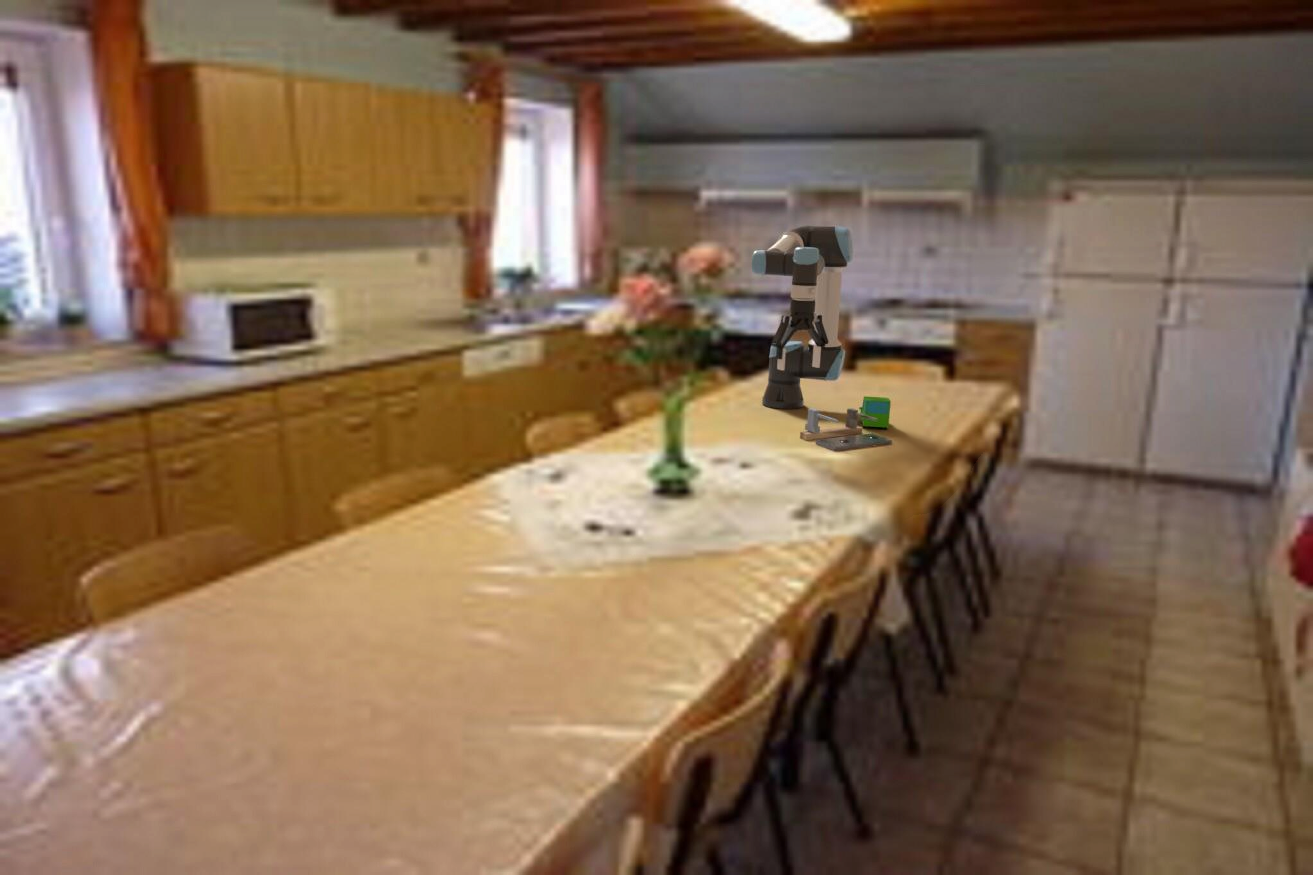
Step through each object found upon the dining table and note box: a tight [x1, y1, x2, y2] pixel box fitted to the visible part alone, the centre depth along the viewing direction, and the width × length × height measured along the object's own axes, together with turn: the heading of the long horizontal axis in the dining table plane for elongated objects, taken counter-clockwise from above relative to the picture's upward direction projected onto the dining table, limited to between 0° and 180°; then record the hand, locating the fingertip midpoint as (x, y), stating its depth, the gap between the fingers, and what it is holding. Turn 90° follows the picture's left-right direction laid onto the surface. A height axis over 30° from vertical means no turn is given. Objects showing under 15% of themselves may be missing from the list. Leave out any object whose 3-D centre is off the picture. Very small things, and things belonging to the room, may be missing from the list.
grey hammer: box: [804, 407, 839, 433], centre depth 295 cm, size 14×2×7 cm, turn 29°
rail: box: [799, 407, 878, 441], centre depth 299 cm, size 13×23×8 cm, turn 119°
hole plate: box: [815, 432, 893, 452], centre depth 295 cm, size 9×23×1 cm, turn 119°
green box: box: [858, 396, 892, 430], centre depth 319 cm, size 10×13×10 cm
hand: (798, 368), depth 291 cm, fingers open, 13 cm apart
